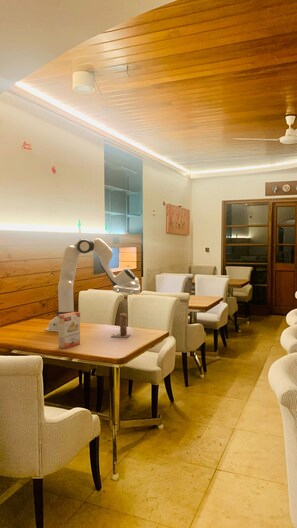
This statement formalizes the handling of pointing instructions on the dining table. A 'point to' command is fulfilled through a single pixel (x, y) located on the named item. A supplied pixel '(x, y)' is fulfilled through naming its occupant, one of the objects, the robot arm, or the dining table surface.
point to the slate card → (120, 336)
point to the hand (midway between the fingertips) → (123, 292)
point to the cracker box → (69, 329)
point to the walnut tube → (123, 324)
